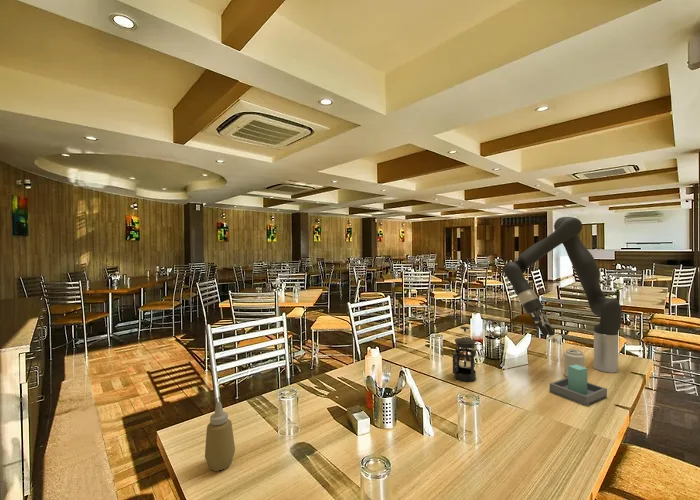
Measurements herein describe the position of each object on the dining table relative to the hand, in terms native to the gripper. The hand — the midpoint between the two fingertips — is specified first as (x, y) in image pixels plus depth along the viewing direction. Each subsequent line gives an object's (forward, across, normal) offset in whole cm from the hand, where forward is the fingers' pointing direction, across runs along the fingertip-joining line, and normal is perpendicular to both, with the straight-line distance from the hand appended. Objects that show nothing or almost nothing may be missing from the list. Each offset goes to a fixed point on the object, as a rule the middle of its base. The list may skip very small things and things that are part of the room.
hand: (549, 335), depth 150 cm
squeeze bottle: (+11, -120, +64) cm, 136 cm away
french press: (+5, -19, +36) cm, 41 cm away
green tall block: (+23, -4, +1) cm, 24 cm away
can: (+18, +14, +4) cm, 23 cm away
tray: (+24, -4, +1) cm, 25 cm away
